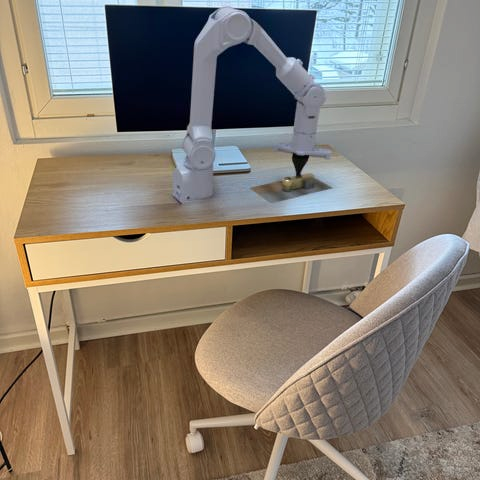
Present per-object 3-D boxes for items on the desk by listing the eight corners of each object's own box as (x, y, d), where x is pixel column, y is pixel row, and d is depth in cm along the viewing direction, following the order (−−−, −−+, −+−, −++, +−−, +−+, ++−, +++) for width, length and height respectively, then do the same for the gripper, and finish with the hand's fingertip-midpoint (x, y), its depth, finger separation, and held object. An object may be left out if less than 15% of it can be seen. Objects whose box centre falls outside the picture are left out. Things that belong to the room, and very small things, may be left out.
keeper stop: (305, 189, 121) (306, 181, 119) (302, 188, 121) (303, 179, 120) (314, 187, 122) (315, 179, 121) (311, 186, 123) (312, 177, 122)
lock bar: (285, 191, 118) (286, 180, 117) (279, 187, 120) (280, 176, 119) (314, 185, 122) (315, 174, 121) (308, 182, 124) (309, 171, 123)
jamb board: (271, 207, 114) (271, 203, 113) (249, 192, 121) (249, 187, 120) (332, 192, 123) (333, 187, 122) (308, 178, 130) (309, 174, 130)
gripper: (273, 131, 114) (268, 182, 121) (332, 139, 112) (323, 190, 119) (278, 123, 120) (273, 172, 127) (334, 131, 118) (326, 180, 125)
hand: (297, 180), depth 123 cm, fingers closed, pressing on lock bar
